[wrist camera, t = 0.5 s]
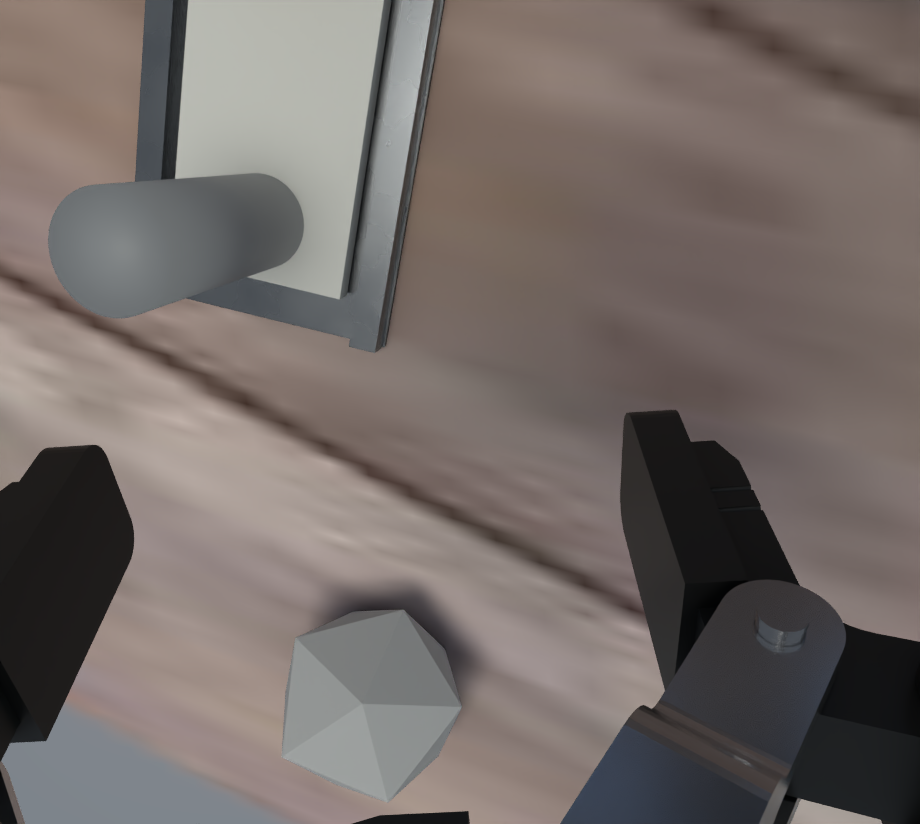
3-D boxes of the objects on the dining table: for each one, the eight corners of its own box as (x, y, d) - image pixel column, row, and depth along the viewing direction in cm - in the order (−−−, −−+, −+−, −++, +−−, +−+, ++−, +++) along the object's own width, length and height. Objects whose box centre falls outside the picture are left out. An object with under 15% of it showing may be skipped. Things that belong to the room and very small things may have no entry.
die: (293, 669, 45) (315, 857, 38) (252, 588, 38) (270, 795, 32) (438, 631, 46) (484, 808, 39) (421, 544, 39) (472, 738, 33)
